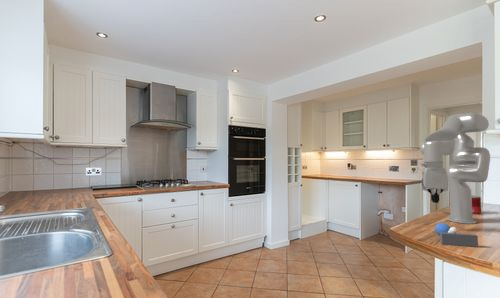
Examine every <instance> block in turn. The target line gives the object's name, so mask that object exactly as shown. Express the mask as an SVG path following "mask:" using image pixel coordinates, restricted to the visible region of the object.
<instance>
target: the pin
mask: <svg viewBox="0 0 500 298" xmlns="http://www.w3.org/2000/svg"><path fill="white" fill-rule="evenodd" d="M448 233H458V229H457V228H456V227H455V226H451V227H450V229H449V231H448Z"/></svg>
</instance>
